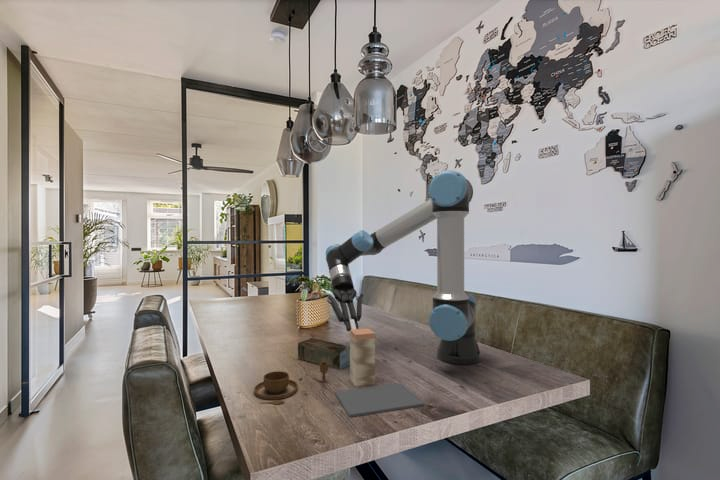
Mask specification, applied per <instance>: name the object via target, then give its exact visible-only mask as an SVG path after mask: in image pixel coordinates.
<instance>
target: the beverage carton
mask: <svg viewBox="0 0 720 480" xmlns="http://www.w3.org/2000/svg"><path fill="white" fill-rule="evenodd" d="M297 359H298V360H301V361H304V360H305V362H310V363H313V364H317V365H320V363H322V362H327V363H328V368H333V369H337V370H342V369H345V368H346V367H348V366H350V345H344V344H341V343H337V342H332V341H327V340H323V339H319V338H314V337H310V338H309V339H305V340H303V341H300V342H298V343H297Z"/></svg>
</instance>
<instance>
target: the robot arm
mask: <svg viewBox="0 0 720 480" xmlns="http://www.w3.org/2000/svg"><path fill="white" fill-rule="evenodd" d="M428 194H429V198H430V199H427V200H426V201H424V202H423V203H421V204H419V205H418V206H416V207H414V208H413V209H411V210H409V211H408V212H405V213H404V214H403V215H400V216H399V217H397V218H396V219H394V220H392V221H391V222H389V223H388V224H386V225H384V226H382V227H380V228H379V229H378V230H376V231H374V232H373V233H371V234H369V233H368V232H367V231H365V230H364V229H363V230H359V231H358V232H356V233H354V234H353V235H352V236H351V237H350V238H348V239H347V240H346V241H344V242H342V244H339V243H335V244H333V245H329V246H328V247H326V251H325V261H326V264H327V267H328V273H329V278H330V282H331V288H332V294H329V295H328V296H327V300H326V301H327V303H329V304H330V306H331V308H332V310H333V312H334V315H335V316H336V318H337V321H338V322H339V323H342V322H343V324H344V325H345V329H346V331H347V332H350V330H355V329H359V322H360V320H361V319H362V313H363V312H362V310H363V309H362V307H363V305H362V304H363V298H364V293H358V292H357V290H355V286H354V282H353V279H352V274H351V271H350V267H349V264H351V263H353V262H354V261H355V260H356V259H357V258H360V257H361V256H375V255H378V254H380V253H382V251H383V250H384V249H386V248H387V247H389V246H390V245H393V244H395V243H397V242H399V240H402V239H403V238H406V237H407V236H408V235H410V234H411V233H412V234H413V233H414V232H416V231H417V230H419V229H420V228H423V227H425V226H426V225H429V224H430V223H431V222H434V221H435V220H436V223H437V224H436V228H437V229H436V232H437V233H436V247H437V248H436V249H437V251H436V254H437V256H436V257H437V259H436V260H437V263H436V265H437V266H436V268H437V269H436V276H437V277H436V278H437V279H436V280H437V281H436V284H437V285H436V286H437V287H436V288H437V289H436V292H435V293H434V294H433V295H432V310H431V311H430V314H429V316H428V317H429V319H428V324H429V328H430V330H431V331H432V332H433V334H434V335H435V336H436V337H437V338H439V339H440V340H439V343H438V347H437V349H436V357H437V358H438V359H439V360H440V361H442V362H445V363H449V364H451V365H461V366H462V365H468V366H469V365H474V364H475V365H476V364H478V363H480V362H481V360H482V359H481V358H482V357H481V351H480V348H479V344H478V342H477V339H476V328H477V327H476V323H477V322H476V316H477V315H476V314H477V313H476V310H477V309H476V308H477V307H476V306H477V303H476V302H477V301H476V297H475V296H474V295H472V294H467V293H466V292H465V217H467V216H468V215H469V214H470V203H471V202H472V199H473V196H474V188H473V185H472V183H471V182H470V181H469V180H468V179H467V178H466V177H465V176H464V175H463V173H461V172H458V171H455V170H448V169H447V170H443V171H441V172H438V173H437V174H435V175H434V176H433V178H432V179H431V181H430V183H429V186H428ZM354 299H355V300H356V301H357V302H356V307H355V305H354V304H355V303H354ZM338 302H339V304H338ZM355 308H356V309H355ZM349 314H350V315H349Z"/></svg>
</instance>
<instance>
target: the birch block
mask: <svg viewBox="0 0 720 480" xmlns="http://www.w3.org/2000/svg"><path fill="white" fill-rule="evenodd" d="M349 346H350V365H349V380H350V381H351V383H352V384H353V385H354V387H362V386H363V387H364V386H369V385H375V384H376V332H374V331H373V330H371V329H370V328H358V329H355V330H350V331H349Z"/></svg>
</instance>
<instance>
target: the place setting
mask: <svg viewBox="0 0 720 480" xmlns="http://www.w3.org/2000/svg"><path fill="white" fill-rule="evenodd" d="M328 369H329V367H328V363H327V362H322V363H320V364H319V372H320V373H321V374H322V376H321V379H322V380H321V383H326V382H327V381H326V374H327V373H328V371H329V370H328ZM302 380H303V378H302V377H301V378H298V381H302ZM289 386H290V387H292V388H294V389H293V390H291V391H288V392H287V393H286V392H285V393H283V394H281V393H282V392H284V390H285V389H287V388H288V387H289ZM263 388H264V389H265V390H266V391H268V392H269V393H270V395H268V394H262V393H259V391H260V390H261V389H263ZM298 388H299V387H298V382H296V381H295V380H292V379H290V374H289V373H288V372H285V371H281V370H280V371H279V370H277V371H276V370H275V371H270V372H268V373H265V374H264V375H263V381H261V382H259V383H257V384H256V385H255V386H254V388H253V390H254V394H255V396H257V397H258V398H260V399H262V400H268V401H266V402H262V401H261V402H259V404H260V405H261V404H271V405H275V406H276V405H277V406H278V405H282V404H283V403H284V402H285V401H284V400H282V399H287V398H288V397H291V396H293V395H294V394H296V392H297V391H298ZM271 394H273V395H271ZM269 400H270V401H269ZM273 400H274V401H273Z"/></svg>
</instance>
